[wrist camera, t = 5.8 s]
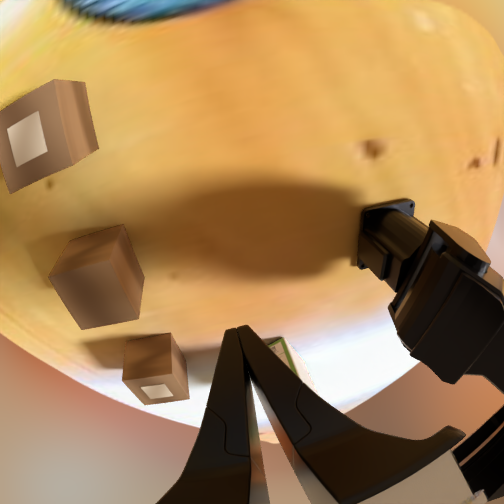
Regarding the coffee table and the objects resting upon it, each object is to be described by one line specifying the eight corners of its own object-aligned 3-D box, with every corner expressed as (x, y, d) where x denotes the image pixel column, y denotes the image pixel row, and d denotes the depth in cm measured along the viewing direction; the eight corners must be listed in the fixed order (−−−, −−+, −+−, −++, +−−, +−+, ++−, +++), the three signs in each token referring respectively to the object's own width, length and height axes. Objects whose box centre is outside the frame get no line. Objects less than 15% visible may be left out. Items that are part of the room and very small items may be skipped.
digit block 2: (171, 332, 25) (172, 374, 21) (185, 360, 28) (189, 399, 24) (125, 340, 25) (121, 381, 21) (144, 368, 28) (143, 406, 23)
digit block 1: (85, 82, 13) (53, 79, 9) (99, 148, 16) (72, 165, 11) (27, 110, 12) (-12, 119, 8) (42, 171, 15) (8, 195, 11)
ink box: (252, 351, 29) (287, 460, 18) (283, 334, 29) (329, 443, 18) (277, 374, 33) (310, 464, 22) (304, 360, 33) (344, 449, 22)
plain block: (123, 223, 19) (109, 259, 15) (144, 276, 22) (139, 319, 17) (70, 240, 18) (48, 276, 14) (94, 288, 21) (81, 329, 17)
